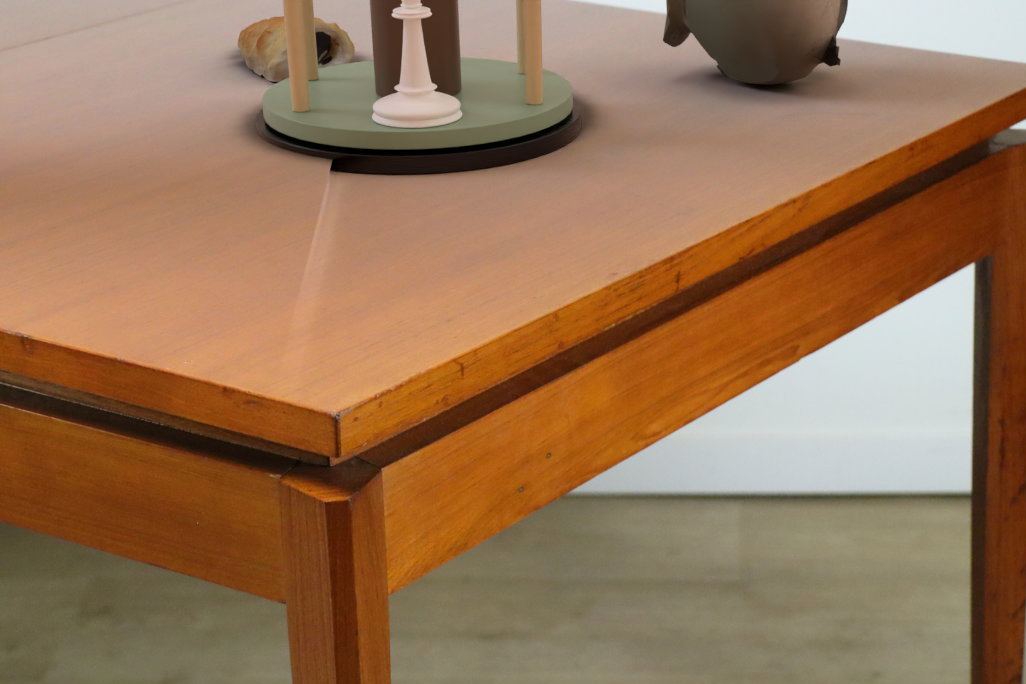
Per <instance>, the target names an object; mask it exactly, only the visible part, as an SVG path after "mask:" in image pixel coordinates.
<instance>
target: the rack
mask: <svg viewBox="0 0 1026 684" xmlns="http://www.w3.org/2000/svg"><path fill="white" fill-rule="evenodd" d="M420 3H422V6H424V7H428V8H430V9H431V10H430V12H431V13H432V15H431V16H430V17H427V18H422V19H421V25H422V32H423V39H424V45H425V51H426V57H427V63H428V69H429V74H430V78H431V82H432V83H433V84H436V85H437V88H436V89H435V90H434V91H435V92H441V93H444V94H447V95H450V96H453V97H455V98H456V99H458V100H459V102H460V104H461V106H460V110H461V112H462V117H461V118H460V119H459V120H457V121H455V122H452V123H449V124H446V125H441V126H436V127H427V128H397V127H389V126H384V125H381V124H378V123H376V122H375V121H373V119H372V115H373V113H374V111H373V104H374V103H375V102H376V101H377V100H379V99H381V98H383V97H385V96H388V95H391V94H394V93H397V92H399V91H397V90H395V89H394V87H395V86H396V85H398V84H399V83H400V75H401V63H402V47H403V19H398V18H394V17H392V13H393V9H395V8H398V7H402V6H400V4H402V1H401V0H369V10H370V11H369V13H370V24H371V27H370V28H371V39H372V40H371V42H372V57H373V60H362V61H355V62H350V63H347V64H341V65H335V66H330V67H325V68H321V69H318V60H317V47H316V35H315V22H314V18H315V10H314V0H282V9H283V16H284V21H285V32H286V44H287V55H288V66H289V78H287V79H285V80H282V81H280V82H276V83H275V84H272V85H271V86H270V87H269V88H267V89H266V90H265V92H264V94H262V99H261V100H262V101H261V105H262V109H263V116H264V119H265V121H266V123H267V124H268V125H269V126H270V127H272V128H273V129H275V130H277V131H278V132H280V133H283V134H285V135H288V136H291V137H294V138H297V139H301V140H305V141H309V142H314V143H319V144H326V145H332V146H340V147H350V148H363V149H388V150H410V149H436V148H450V147H461V146H469V145H477V144H485V143H491V142H496V141H502V140H507V139H511V138H516V137H520V136H524V135H527V134H531V133H535V132H537V131H540V130H543V129H546V128H548V127H550V126H552V125H555V124H557V123H559V122H560V121H562V120H563V119H565V118H566V117H567V116H568V115H569V114H570V113H571V110H572V108H573V98H574V89H573V85H572V84H571V82H570V81H569V80H568V79H566V78H565V77H564V76H562V75H560V74H559V73H556V72H554V71H551V70H548V69H545V68H543V28H542V27H543V26H542V25H543V22H542V21H543V20H542V19H543V18H542V0H515V6H516V7H515V11H516V13H515V14H516V50H517V52H516V53H517V55H516V57H517V58H516V59H517V62H514V61H509V60H501V59H500V60H499V59H491V58H479V57H462V56H461V39H460V38H461V37H460V36H461V35H460V16H459V15H460V14H459V0H421V1H420Z"/></svg>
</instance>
